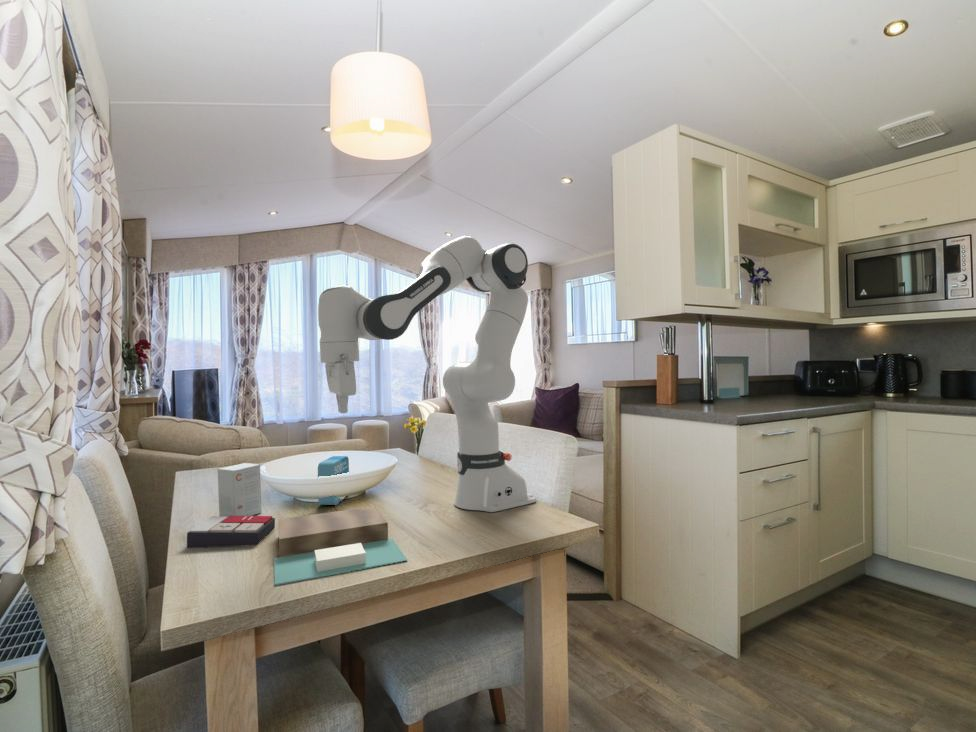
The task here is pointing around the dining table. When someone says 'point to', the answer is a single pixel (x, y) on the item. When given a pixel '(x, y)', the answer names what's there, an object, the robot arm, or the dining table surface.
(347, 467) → the data package
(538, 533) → the dining table surface
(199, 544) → the calculator
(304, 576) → the mat
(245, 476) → the small box
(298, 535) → the board
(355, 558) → the white rectangular eraser
